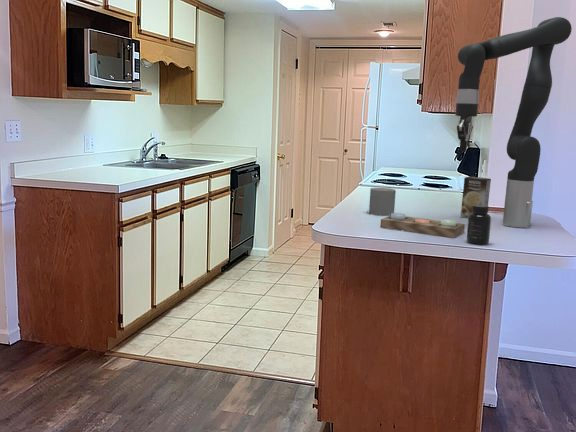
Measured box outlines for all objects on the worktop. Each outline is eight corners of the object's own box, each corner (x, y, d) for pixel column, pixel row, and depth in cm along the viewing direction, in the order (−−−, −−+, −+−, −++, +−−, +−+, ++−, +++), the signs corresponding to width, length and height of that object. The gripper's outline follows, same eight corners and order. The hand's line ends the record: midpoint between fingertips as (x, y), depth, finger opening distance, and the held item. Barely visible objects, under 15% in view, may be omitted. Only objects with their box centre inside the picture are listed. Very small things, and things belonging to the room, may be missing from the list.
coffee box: (459, 217, 230) (463, 177, 227) (464, 215, 235) (468, 176, 232) (482, 220, 225) (486, 179, 222) (487, 218, 230) (491, 178, 227)
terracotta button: (431, 228, 202) (431, 220, 202) (426, 230, 198) (427, 222, 197) (417, 226, 205) (418, 218, 204) (412, 228, 200) (413, 220, 200)
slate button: (406, 222, 207) (407, 214, 206) (401, 224, 202) (402, 215, 202) (393, 220, 209) (394, 212, 209) (388, 222, 205) (388, 214, 204)
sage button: (457, 229, 197) (457, 220, 197) (453, 231, 193) (453, 222, 193) (442, 227, 200) (443, 218, 199) (438, 229, 196) (439, 220, 195)
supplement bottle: (471, 239, 189) (474, 203, 187) (492, 243, 184) (495, 205, 182) (462, 242, 183) (466, 205, 181) (483, 246, 179) (487, 208, 177)
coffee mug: (396, 216, 227) (398, 191, 225) (371, 215, 227) (372, 190, 225) (389, 210, 240) (391, 186, 238) (365, 209, 240) (367, 186, 238)
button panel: (463, 232, 200) (464, 223, 199) (454, 238, 190) (454, 229, 189) (393, 222, 213) (393, 214, 213) (380, 227, 203) (380, 219, 202)
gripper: (473, 102, 198) (468, 153, 201) (482, 103, 209) (478, 151, 212) (451, 101, 201) (447, 151, 205) (461, 103, 213) (457, 150, 216)
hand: (462, 151), depth 208 cm, fingers closed
